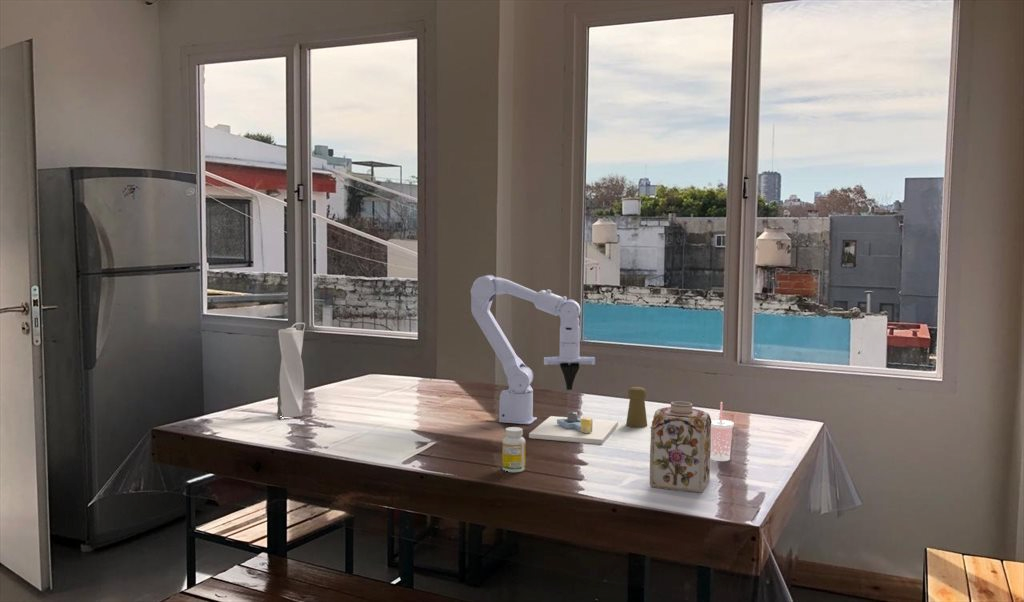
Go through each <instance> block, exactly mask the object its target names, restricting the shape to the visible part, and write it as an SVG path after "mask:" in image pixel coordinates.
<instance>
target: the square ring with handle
mask: <svg viewBox="0 0 1024 602" xmlns="http://www.w3.org/2000/svg"><path fill="white" fill-rule="evenodd" d="M580 418H581V417H578V418H577V422H574V423H568V422H567V418H566V419H557V424H559V425H561V426H563V427H565V428H567V429H569V428H575V429H577V430H579V431H581V432H583V433H590V432H592V427H591V419H592V418H590V417H582V419H580Z"/></svg>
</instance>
